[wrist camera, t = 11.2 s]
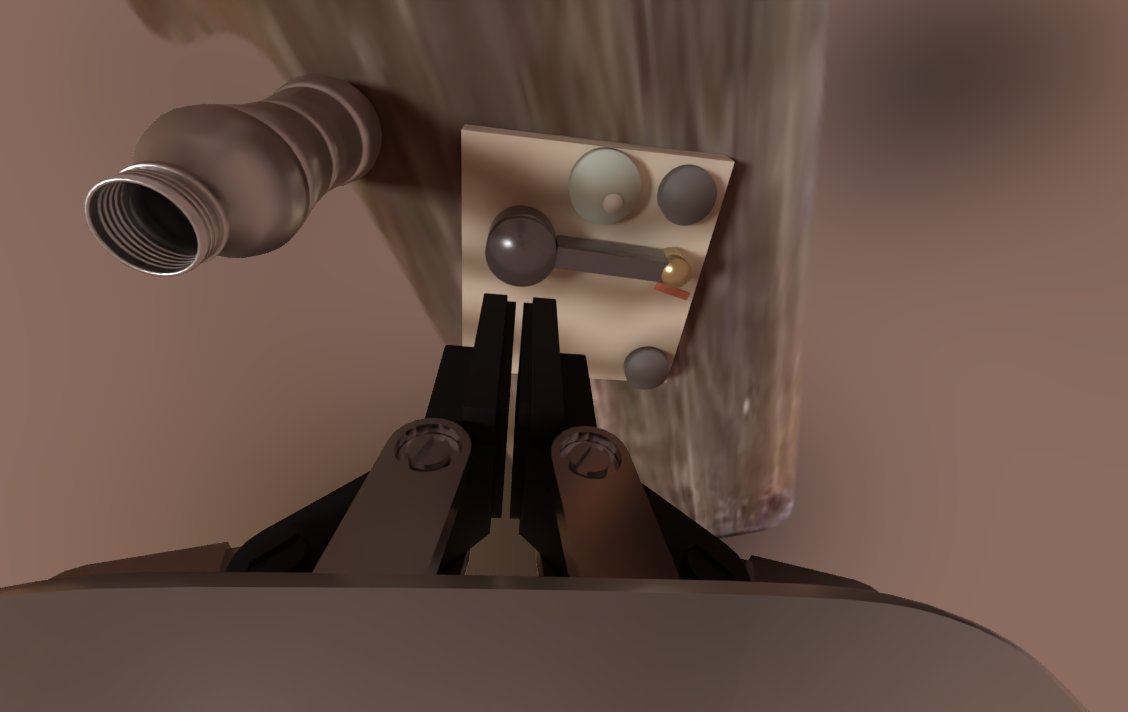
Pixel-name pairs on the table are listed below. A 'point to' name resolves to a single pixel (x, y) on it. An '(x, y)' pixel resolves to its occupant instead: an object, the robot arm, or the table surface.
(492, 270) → the grey lever handle
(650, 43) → the table surface
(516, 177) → the plate
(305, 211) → the plastic bottle
